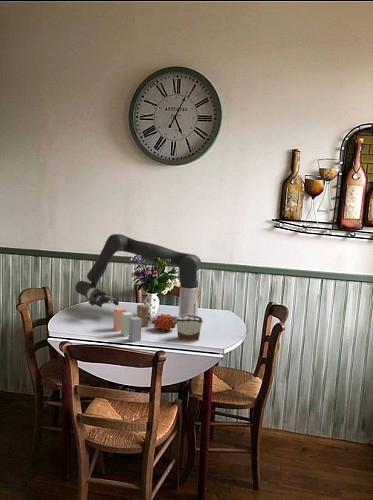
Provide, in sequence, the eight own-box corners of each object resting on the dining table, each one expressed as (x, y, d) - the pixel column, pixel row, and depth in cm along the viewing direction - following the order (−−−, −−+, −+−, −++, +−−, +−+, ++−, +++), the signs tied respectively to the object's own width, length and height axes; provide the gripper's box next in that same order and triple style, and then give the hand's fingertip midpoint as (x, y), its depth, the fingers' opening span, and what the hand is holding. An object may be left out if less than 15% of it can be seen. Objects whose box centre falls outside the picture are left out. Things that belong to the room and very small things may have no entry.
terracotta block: (121, 327, 220) (121, 307, 218) (125, 330, 216) (125, 309, 215) (113, 328, 218) (114, 308, 216) (117, 331, 214) (117, 310, 213)
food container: (201, 335, 214) (202, 314, 212) (202, 340, 208) (203, 318, 206) (174, 334, 213) (175, 313, 212) (174, 339, 207) (175, 317, 206)
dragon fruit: (178, 334, 218) (152, 336, 219) (177, 320, 224) (153, 322, 225) (175, 324, 212) (149, 326, 213) (175, 309, 218) (150, 311, 219)
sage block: (128, 332, 213) (129, 311, 212) (132, 335, 210) (133, 314, 208) (120, 334, 211) (121, 312, 209) (124, 336, 208) (125, 315, 206)
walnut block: (143, 324, 226) (144, 304, 225) (147, 326, 223) (148, 306, 221) (136, 325, 224) (137, 305, 223) (140, 327, 221) (141, 307, 219)
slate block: (136, 338, 207) (137, 316, 205) (140, 340, 203) (141, 318, 202) (128, 339, 204) (129, 317, 203) (132, 342, 201) (133, 320, 200)
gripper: (83, 290, 234) (95, 298, 220) (109, 287, 242) (123, 295, 228) (83, 304, 235) (95, 313, 222) (109, 301, 243) (122, 310, 229)
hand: (109, 304), depth 225 cm, fingers open, 8 cm apart
